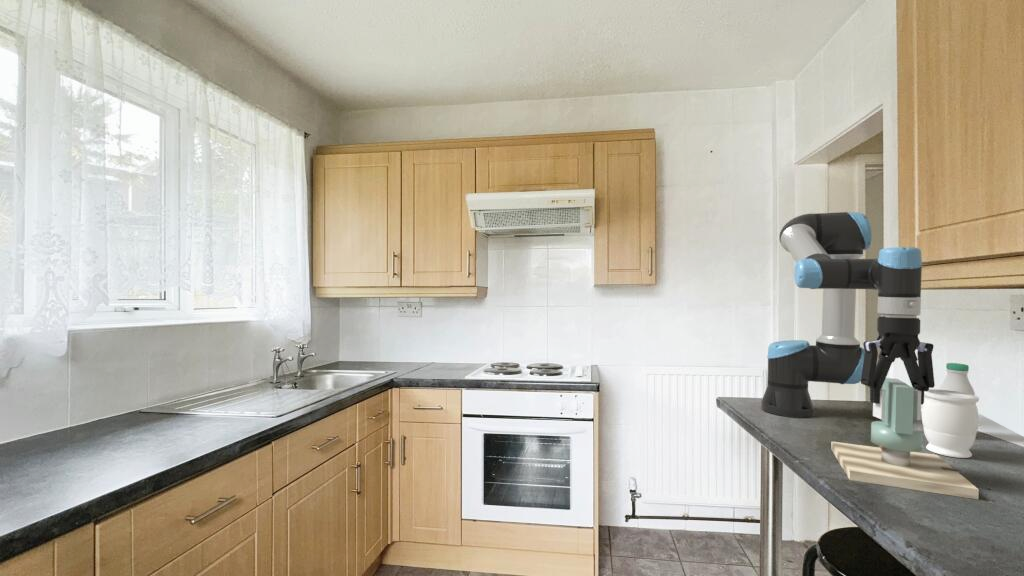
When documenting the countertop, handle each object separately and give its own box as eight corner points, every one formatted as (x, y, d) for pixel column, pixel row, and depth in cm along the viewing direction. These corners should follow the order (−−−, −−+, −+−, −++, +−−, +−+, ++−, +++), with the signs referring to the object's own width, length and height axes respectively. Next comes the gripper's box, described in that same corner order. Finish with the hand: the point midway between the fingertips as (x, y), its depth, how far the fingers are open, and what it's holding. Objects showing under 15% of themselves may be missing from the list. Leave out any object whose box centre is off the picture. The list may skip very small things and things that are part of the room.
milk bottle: (950, 438, 132) (951, 365, 132) (930, 429, 139) (932, 361, 139) (982, 439, 130) (984, 366, 130) (961, 431, 138) (962, 362, 138)
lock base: (830, 448, 122) (831, 426, 122) (939, 462, 113) (939, 438, 113) (849, 479, 103) (850, 453, 102) (983, 500, 94) (983, 471, 93)
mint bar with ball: (877, 449, 105) (879, 385, 104) (863, 432, 116) (864, 375, 116) (930, 455, 101) (931, 389, 101) (910, 438, 112) (911, 378, 112)
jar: (970, 450, 122) (971, 392, 122) (984, 463, 113) (985, 400, 113) (916, 443, 127) (917, 386, 127) (925, 454, 118) (927, 394, 118)
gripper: (864, 316, 104) (862, 421, 104) (959, 318, 103) (957, 424, 103) (842, 314, 112) (840, 412, 112) (930, 315, 111) (928, 414, 111)
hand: (896, 417), depth 108 cm, fingers open, 7 cm apart
